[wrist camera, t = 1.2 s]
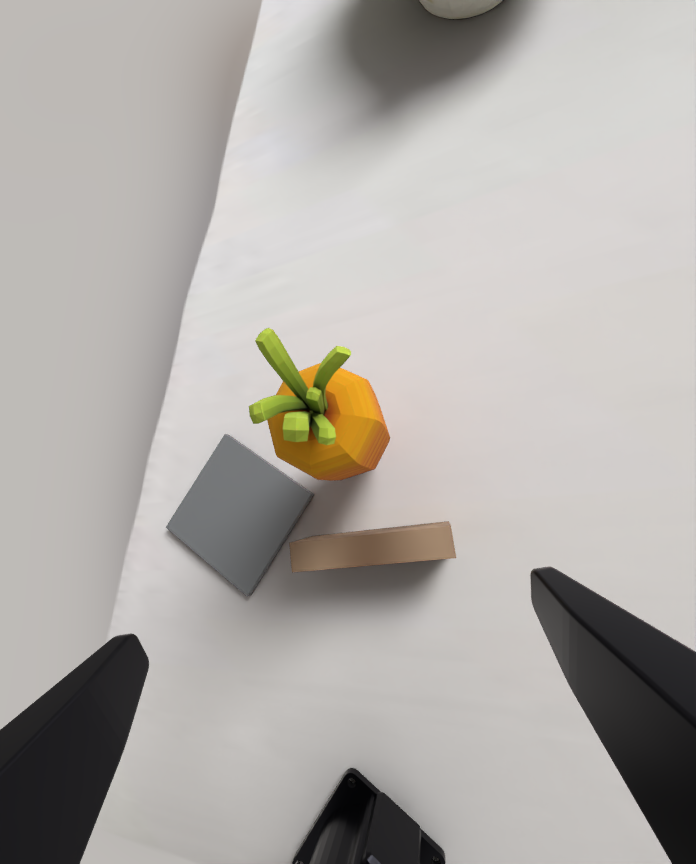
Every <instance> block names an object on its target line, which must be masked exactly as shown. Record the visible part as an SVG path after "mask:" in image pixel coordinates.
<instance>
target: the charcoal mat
mask: <svg viewBox="0 0 696 864" xmlns="http://www.w3.org/2000/svg"><path fill="white" fill-rule="evenodd" d="M313 495H314V494H313V493H311V492H310V491H309V490H307V489H306V488H304V487H303V486H301V485H300V484H298V483H297V482H296V481H294V480H293V479H291V478H290V477H288V476H287V475H286V474H284V473H283V472H281V471H280V470H278V469H277V468H276V467H274V466H273V465H271V464H270V463H268V462H267V461H266V460H264V459H263V458H261V457H260V456H258V455H257V454H255V453H254V452H253V451H251V450H250V449H248V448H247V447H245V446H244V445H243V444H241V443H240V442H238V441H237V440H235V439H234V438H233V437H231V436H230V435H227V434H225V435H224V436H223V438H222V440H221V441H220V443H219V444H218V446H217V447H216V449H215V451H214V452H213V454H212V455H211V457H210V458H209V460H208V462H207V463H206V465H205V466H204V468H203V469H202V471H201V473H200V474H199V476H198V477H197V479H196V480H195V482H194V484H193V485H192V487H191V488H190V490H189V491H188V493H187V495H186V496H185V498H184V499H183V501H182V503H181V504H180V506H179V507H178V509H177V510H176V512H175V514H174V515H173V517H172V518H171V520H170V521H169V523H168V525H167V526H166V528H167V529H168V530H169V531H171V532H172V533H173V534H174V535H175V536H176V537H178V538H179V539H180V540H181V541H182V542H184V543H185V544H186V545H187V546H188V547H189V548H191V549H192V550H193V551H194V552H195V553H196V554H198V555H199V556H200V557H201V558H202V559H203V560H205V561H206V562H207V563H208V564H209V565H211V566H212V567H213V568H214V569H215V570H216V571H218V572H219V573H220V574H221V575H222V576H223V577H225V578H226V579H227V580H228V581H229V582H230V583H232V584H233V585H234V586H235V587H236V588H237V589H239V590H240V591H241V592H242V593H243V594H245V595H246V596H249V595H251V594H252V593H253V591H254V589H255V588H256V586H257V585H258V583H259V581H260V580H261V578H262V577H263V575H264V573H265V572H266V570H267V569H268V567H269V565H270V564H271V562H272V561H273V559H274V557H275V556H276V554H277V553H278V551H279V549H280V548H281V546H282V545H283V543H284V542H285V540H286V538H287V537H288V535H289V534H290V532H291V530H292V529H293V527H294V526H295V524H296V522H297V521H298V519H299V518H300V516H301V514H302V513H303V511H304V510H305V508H306V506H307V505H308V503H309V502H310V500H311V498H312V497H313Z"/></svg>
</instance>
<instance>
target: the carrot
mask: <svg viewBox="0 0 696 864" xmlns="http://www.w3.org/2000/svg"><path fill="white" fill-rule="evenodd" d="M255 341H256V343H257V345H258V347H259V349H260V351H261V352H262V354H263V355H264V357H265V358H266V360H267V361H268V362H269V364H270V365H271V366H272V367H273V369H274V370H275V371H276V372H277V374H278V375H279V376H280V377H281V379H282V380H283V383H282V385H281V386H280V388H279V390H278V392H277V394H276V395H274V396H271V397H267V398H264V399H262V400H260V401H258V402H256V403H254V404H252V405H250V406H249V412H250V417H251V419H252V421H253V424H258V423H261V422H263V421H265V420H267V421H268V425H269V429H270V433H271V437H272V441H273V445H274V449H275V453H276V455H277V457H278V458H280V459H282V460H284V461H285V462H287V463H289V464H291V465H293V466H294V467H296V468H298V469H300V470H302V471H303V472H305V473H307V474H309V475H311V476H312V477H314V478H316V479H318V480H343V479H346V478H349V477H352V476H355V475H358V474H361V473H364V472H367V471H371V470H374V469H375V468H376V466H377V464H378V462H379V460H380V458H381V456H382V454H383V453H384V451H385V449H386V447H387V445H388V443H389V440H390V436H389V433H388V430H387V427H386V424H385V421H384V418H383V415H382V412H381V409H380V406H379V403H378V400H377V398H376V395H375V393H374V391H373V389H372V387H371V385H370V383H369V381H368V380H367V379H364V378H362V377H360V376H358V375H355V374H353V373H351V372H349V371H347V370H344V369H342V368H340V367H341V366H342V365H343V364H344V362H345V361H346V360H347V359H348V358H349V357H350V355H351V351H350V350H349V349H347V348H345V347H340V346H336V347H335V348H334V349H333V350H332V351H331V352H330V353H329V354H328V355H327V356H326V357H325V359H324V360H323V361H322V363H320V364H317V365H314V366H312V367H309V368H307V369H304V370H302V371H299V372H298V370H297V369H296V367H295V365H294V363H293V362H292V360H291V358H290V356H289V355H288V353H287V351H286V350H285V348H284V346H283V344H282V343H281V341H280V339H279V338H278V336H277V335H276V334H275V332H274V331H273V330H272V329H270V328H267V329H265V330H264V331H262V332H261V333H260V334H259V335H258V337H257V339H256V340H255Z"/></svg>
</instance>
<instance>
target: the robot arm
mask: <svg viewBox="0 0 696 864" xmlns="http://www.w3.org/2000/svg"><path fill="white" fill-rule="evenodd" d="M531 599H532V604H533V607H534V610H535V612H536V614H537V617H538V619H539V621H540V623H541V625H542V628H543V630H544V632H545V634H546V636H547V639H548V641H549V643H550V645H551V647H552V649H553V652H554V654H555V656H556V658H557V660H558V663H559V665H560V667H561V669H562V671H563V673H564V675H565V678H566V680H567V682H568V684H569V686H570V688H571V689H572V691H573V693H574V695H575V697H576V698H577V700H578V702H579V704H580V705H581V707H582V709H583V711H584V712H585V714H586V716H587V717H588V719H589V721H590V723H591V724H592V726H593V728H594V730H595V731H596V733H597V735H598V736H599V738H600V740H601V742H602V743H603V745H604V747H605V749H606V750H607V752H608V754H609V755H610V757H611V759H612V761H613V762H614V764H615V766H616V768H617V769H618V771H619V773H620V774H621V776H622V778H623V780H624V781H625V783H626V785H627V787H628V788H629V790H630V792H631V793H632V795H633V797H634V799H635V800H636V802H637V804H638V806H639V807H640V809H641V811H642V812H643V814H644V816H645V818H646V819H647V821H648V823H649V825H650V826H651V828H652V830H653V832H654V833H655V835H656V837H657V838H658V840H659V842H660V844H661V845H662V847H663V849H664V851H665V852H666V854H667V856H668V857H669V859H670V861H671V863H672V864H696V652H695V651H693V650H692V649H690V648H688V647H687V646H685V645H683V644H682V643H680V642H678V641H676V640H675V639H673V638H671V637H670V636H668V635H666V634H665V633H663V632H661V631H660V630H658V629H656V628H655V627H653V626H651V625H649V624H648V623H646V622H644V621H643V620H641V619H639V618H638V617H636V616H634V615H633V614H631V613H629V612H627V611H626V610H624V609H622V608H621V607H619V606H617V605H616V604H614V603H612V602H611V601H609V600H607V599H606V598H604V597H602V596H600V595H599V594H597V593H595V592H594V591H592V590H590V589H589V588H587V587H585V586H584V585H582V584H580V583H578V582H577V581H575V580H573V579H572V578H570V577H568V576H567V575H565V574H563V573H562V572H560V571H558V570H557V569H555V568H553V567H543V568H537V569H533V570H532V571H531ZM148 668H149V660H148V657H147V655H146V653H145V651H144V649H143V647H142V645H141V643H140V641H139V639H138V638H137V636H136V635H134V634H125V635H119V636H116V637H114V638H112V639H111V640H110V641H108V642H107V643H106V644H105V645H104V646H102V647H101V648H100V649H99V650H97V651H96V652H95V653H94V654H93V655H91V656H90V657H89V658H88V659H86V660H85V661H84V662H83V663H82V664H80V665H79V666H78V667H77V668H75V669H74V670H73V671H72V672H71V673H69V674H68V675H67V676H66V677H64V678H63V679H62V680H61V681H60V682H59V683H57V684H56V685H55V686H53V687H52V688H51V689H50V690H49V691H47V692H46V693H45V694H44V695H42V696H41V697H40V698H39V699H38V700H36V701H35V702H34V703H33V704H31V705H30V706H29V707H28V708H27V709H25V710H24V711H23V712H22V713H20V714H19V715H18V716H17V717H16V718H14V719H13V720H12V721H11V722H9V723H8V724H7V725H6V726H5V727H3V728H2V729H1V730H0V864H80V861H81V859H82V856H83V854H84V851H85V849H86V846H87V843H88V841H89V838H90V836H91V833H92V830H93V828H94V826H95V823H96V820H97V818H98V815H99V813H100V810H101V808H102V805H103V802H104V800H105V797H106V795H107V792H108V790H109V787H110V784H111V782H112V779H113V777H114V774H115V772H116V769H117V766H118V764H119V761H120V759H121V756H122V753H123V750H124V748H125V745H126V742H127V739H128V736H129V732H130V729H131V726H132V722H133V719H134V716H135V712H136V709H137V706H138V702H139V699H140V696H141V692H142V689H143V686H144V682H145V679H146V676H147V672H148ZM349 778H353V779H354V780H355V781H356V782H355V783H352V782H351V781H350V780H349ZM433 857H437V858H439V861H435V860H433ZM299 861H302V862H303V863H304V864H445V853H444V851H443V850H442V848H441V847H440V846H439V845H438V844H436V843H435V842H434V841H433V840H432V839H431V838H430V837H429V836H428V835H427V834H426V833H425V832H424V831H422V830H421V829H420V826H419V825H418V824H417V823H416V822H415V821H414V820H413V819H412V818H411V817H409V816H408V815H407V814H406V813H405V812H404V811H403V810H402V809H401V808H400V807H399V806H398V805H396V804H395V803H394V802H393V801H392V800H391V799H390V798H389V797H388V796H387V795H386V794H385V793H383V792H380V791H379V790H378V789H377V788H376V787H375V786H374V785H373V784H372V783H371V782H370V781H368V780H367V779H366V778H365V777H364V776H363V775H362V774H361V773H360V772H359V771H358V770H356V769H354V768H350V769H348V770H347V771H346V772H345V774H344V776H343V777H342V779H341V781H340V782H339V784H338V786H337V787H336V789H335V790H334V792H333V794H332V795H331V797H330V799H329V800H328V802H327V804H326V805H325V807H324V808H323V810H322V812H321V813H320V815H319V817H318V818H317V820H316V822H315V823H314V825H313V826H312V828H311V830H310V831H309V833H308V835H307V836H306V838H305V840H304V841H303V843H302V844H301V846H300V848H299V849H298V851H297V853H296V855H295V858H294V860H293V864H301V863H300V862H299Z"/></svg>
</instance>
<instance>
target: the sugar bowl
mask: <svg viewBox="0 0 696 864" xmlns="http://www.w3.org/2000/svg"><path fill="white" fill-rule="evenodd" d="M419 1H420V2H421V4H422V5H423V6H424V8H425V9H426V10H427V11H429V12H430V13H432V14H433V15H436V16H438V17H443V18H448V19H461V18H469V17H473V16H476V15H479V14H482V13H485V12H487V11H489V10H490V9H492V8H494V7H495V6H497V5H498V4H499V3H500V2H502V1H503V0H419Z"/></svg>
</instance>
